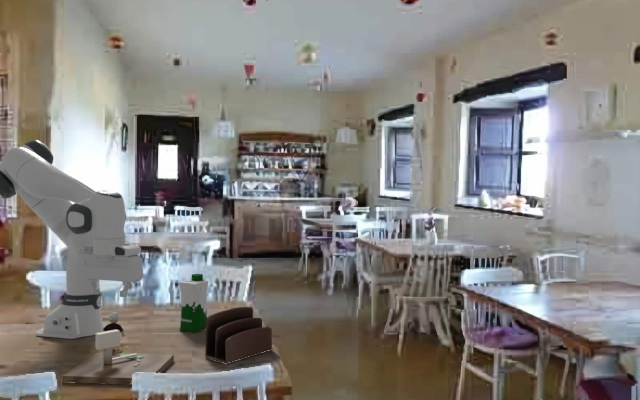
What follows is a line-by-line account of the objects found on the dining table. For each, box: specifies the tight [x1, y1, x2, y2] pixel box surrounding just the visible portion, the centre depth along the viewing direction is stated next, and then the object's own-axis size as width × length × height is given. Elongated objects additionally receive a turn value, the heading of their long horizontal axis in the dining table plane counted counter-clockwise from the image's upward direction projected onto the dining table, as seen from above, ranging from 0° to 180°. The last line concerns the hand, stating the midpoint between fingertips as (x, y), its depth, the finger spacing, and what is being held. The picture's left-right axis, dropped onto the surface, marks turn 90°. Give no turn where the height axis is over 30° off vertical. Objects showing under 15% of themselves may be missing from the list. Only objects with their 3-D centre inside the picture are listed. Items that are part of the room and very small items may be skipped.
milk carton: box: [178, 273, 209, 334], centre depth 226 cm, size 9×9×20 cm
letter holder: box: [204, 306, 273, 363], centre depth 197 cm, size 10×20×14 cm, turn 140°
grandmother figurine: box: [103, 311, 126, 353], centre depth 199 cm, size 8×4×13 cm, turn 92°
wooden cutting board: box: [62, 351, 175, 385], centre depth 179 cm, size 24×22×2 cm
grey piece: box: [94, 329, 138, 364], centre depth 181 cm, size 12×2×9 cm, turn 135°
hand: (109, 295), depth 179 cm, fingers open, 8 cm apart
